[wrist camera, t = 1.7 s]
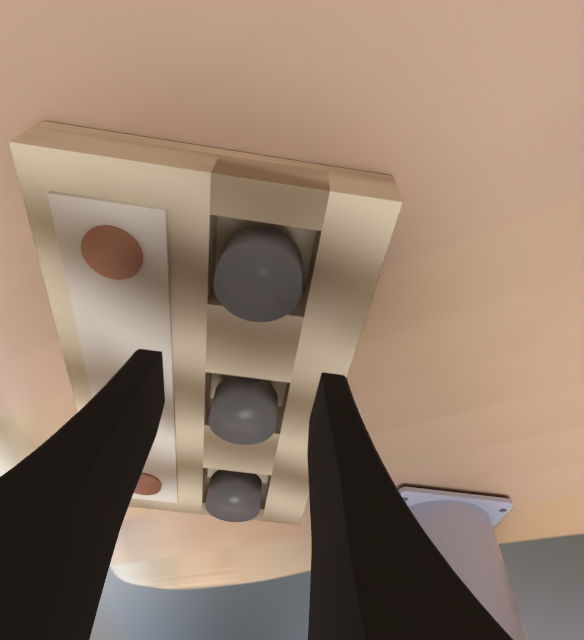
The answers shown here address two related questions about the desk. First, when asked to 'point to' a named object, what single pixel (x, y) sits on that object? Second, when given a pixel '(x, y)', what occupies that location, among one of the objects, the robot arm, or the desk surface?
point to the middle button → (243, 410)
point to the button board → (200, 289)
